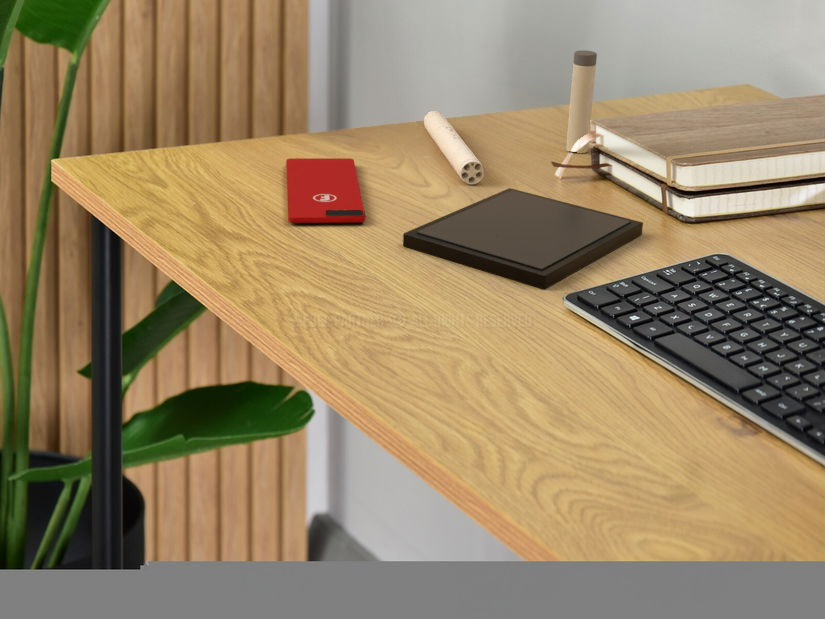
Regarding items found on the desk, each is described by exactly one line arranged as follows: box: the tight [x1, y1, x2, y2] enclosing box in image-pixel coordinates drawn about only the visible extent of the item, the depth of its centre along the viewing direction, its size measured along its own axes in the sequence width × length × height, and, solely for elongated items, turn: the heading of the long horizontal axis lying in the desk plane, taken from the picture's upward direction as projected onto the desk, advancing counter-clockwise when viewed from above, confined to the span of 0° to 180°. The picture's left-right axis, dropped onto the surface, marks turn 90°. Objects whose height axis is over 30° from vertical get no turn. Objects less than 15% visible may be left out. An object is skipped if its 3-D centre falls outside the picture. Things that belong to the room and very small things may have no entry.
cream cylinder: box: [423, 110, 485, 185], centre depth 108 cm, size 18×2×2 cm, turn 11°
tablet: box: [402, 187, 644, 290], centre depth 89 cm, size 14×12×1 cm
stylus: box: [565, 50, 598, 154], centre depth 109 cm, size 2×2×9 cm
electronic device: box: [285, 157, 366, 224], centre depth 97 cm, size 6×1×15 cm
